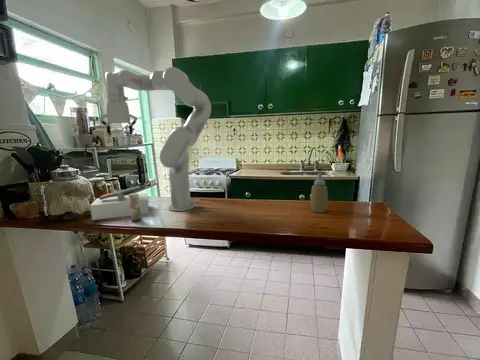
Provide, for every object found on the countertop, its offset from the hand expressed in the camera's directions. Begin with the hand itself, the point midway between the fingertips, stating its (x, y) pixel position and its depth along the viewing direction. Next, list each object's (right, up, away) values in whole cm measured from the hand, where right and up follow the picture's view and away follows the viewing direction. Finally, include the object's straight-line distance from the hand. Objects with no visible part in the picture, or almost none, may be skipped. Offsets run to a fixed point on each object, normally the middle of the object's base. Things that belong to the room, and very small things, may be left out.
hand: (120, 134), depth 123 cm
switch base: (+2, -39, -2) cm, 39 cm away
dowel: (+14, -41, -15) cm, 46 cm away
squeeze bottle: (+97, -38, -10) cm, 105 cm away
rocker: (+2, -29, -4) cm, 30 cm away
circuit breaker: (-28, -40, -1) cm, 49 cm away
